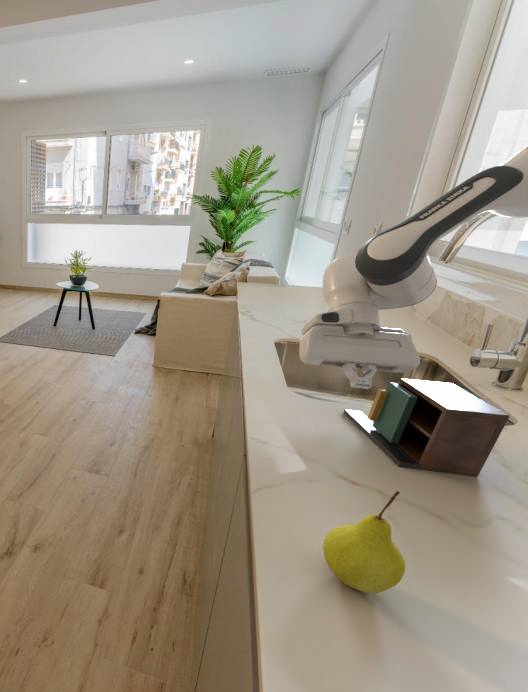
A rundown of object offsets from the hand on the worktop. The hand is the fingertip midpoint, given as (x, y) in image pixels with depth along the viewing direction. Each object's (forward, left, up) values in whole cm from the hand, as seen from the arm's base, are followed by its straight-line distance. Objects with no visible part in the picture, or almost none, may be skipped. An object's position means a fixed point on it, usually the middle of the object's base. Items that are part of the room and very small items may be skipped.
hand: (361, 387), depth 83 cm
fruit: (+21, +46, -6) cm, 50 cm away
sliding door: (0, +10, -5) cm, 11 cm away
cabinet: (-4, +9, -6) cm, 12 cm away
